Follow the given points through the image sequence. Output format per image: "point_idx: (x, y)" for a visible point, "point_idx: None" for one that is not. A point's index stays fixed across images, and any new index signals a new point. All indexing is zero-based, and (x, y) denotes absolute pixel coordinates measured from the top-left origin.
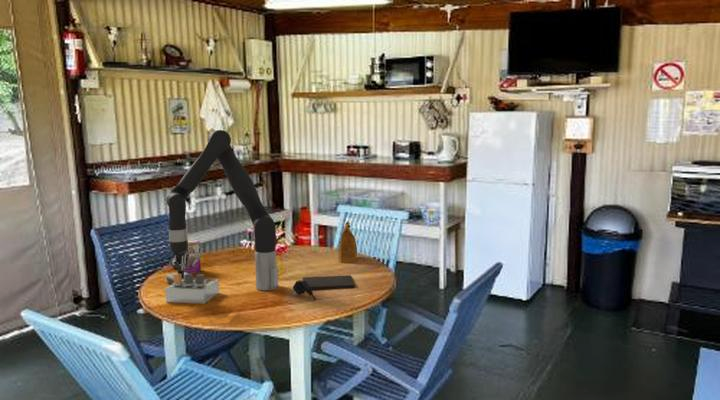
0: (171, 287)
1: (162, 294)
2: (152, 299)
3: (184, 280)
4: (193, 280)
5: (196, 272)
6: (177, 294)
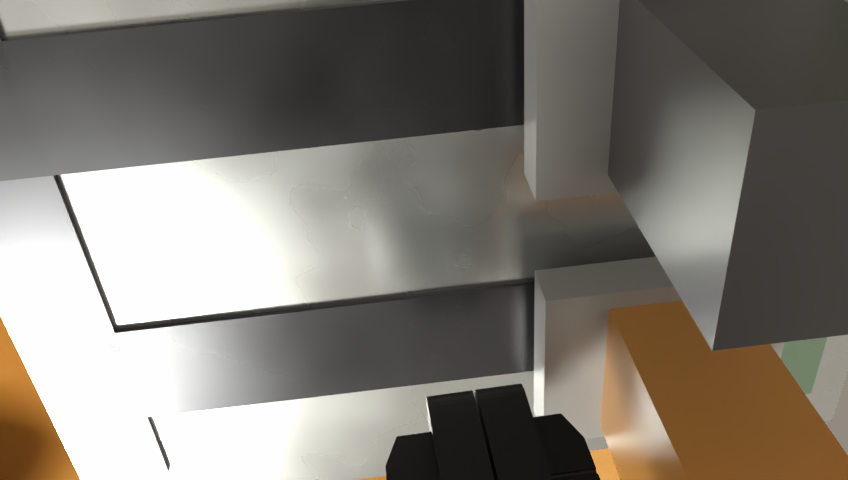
0: (812, 346)
1: None
2: (603, 454)
3: (246, 390)
4: (145, 212)
5: None
6: None
